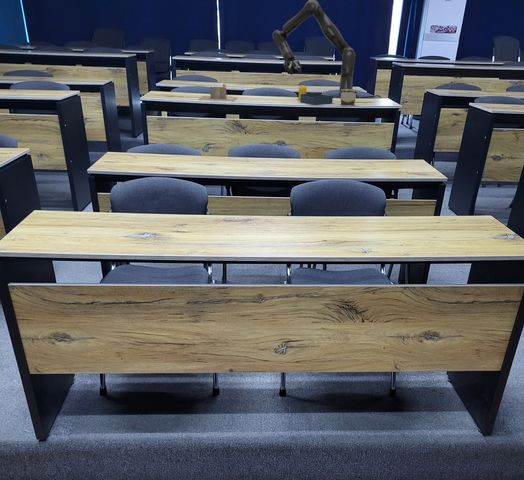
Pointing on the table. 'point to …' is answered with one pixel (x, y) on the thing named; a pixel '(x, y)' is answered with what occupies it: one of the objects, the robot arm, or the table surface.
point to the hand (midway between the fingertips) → (296, 73)
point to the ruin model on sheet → (218, 94)
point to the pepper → (302, 90)
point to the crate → (316, 99)
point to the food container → (348, 97)
